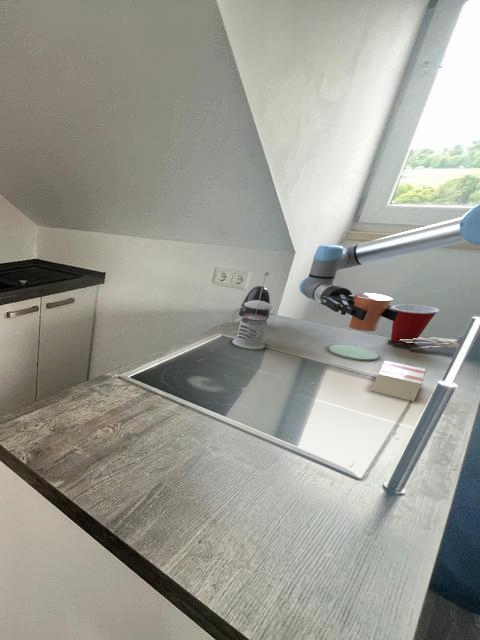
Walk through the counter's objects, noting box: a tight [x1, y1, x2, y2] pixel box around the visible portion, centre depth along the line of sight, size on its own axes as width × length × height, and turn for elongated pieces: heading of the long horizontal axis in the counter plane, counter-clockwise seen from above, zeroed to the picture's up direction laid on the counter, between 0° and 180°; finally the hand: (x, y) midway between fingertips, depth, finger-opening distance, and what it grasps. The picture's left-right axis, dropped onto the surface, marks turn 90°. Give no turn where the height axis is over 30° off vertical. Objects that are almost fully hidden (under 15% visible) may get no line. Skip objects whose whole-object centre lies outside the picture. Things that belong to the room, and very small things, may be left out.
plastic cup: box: [390, 304, 440, 345], centre depth 130 cm, size 11×11×12 cm
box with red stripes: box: [370, 360, 426, 402], centre depth 102 cm, size 12×8×5 cm
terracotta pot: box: [347, 292, 393, 332], centre depth 119 cm, size 8×8×10 cm
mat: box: [328, 344, 379, 361], centre depth 125 cm, size 12×12×1 cm
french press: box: [231, 270, 273, 350], centre depth 130 cm, size 10×12×25 cm
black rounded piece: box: [238, 285, 271, 325], centre depth 149 cm, size 10×10×15 cm
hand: (379, 315), depth 115 cm, fingers closed on terracotta pot, 7 cm apart
